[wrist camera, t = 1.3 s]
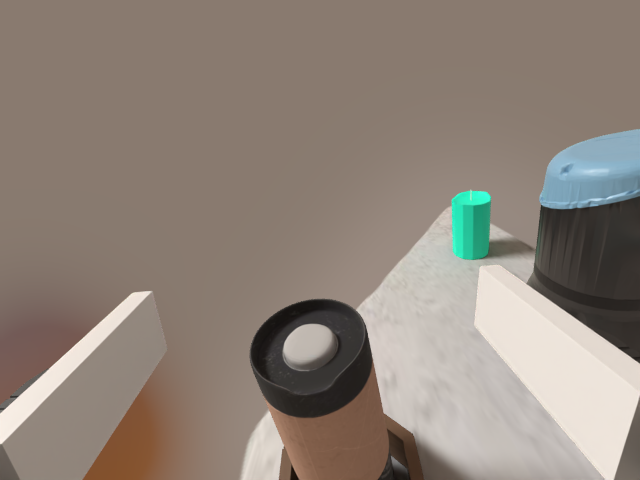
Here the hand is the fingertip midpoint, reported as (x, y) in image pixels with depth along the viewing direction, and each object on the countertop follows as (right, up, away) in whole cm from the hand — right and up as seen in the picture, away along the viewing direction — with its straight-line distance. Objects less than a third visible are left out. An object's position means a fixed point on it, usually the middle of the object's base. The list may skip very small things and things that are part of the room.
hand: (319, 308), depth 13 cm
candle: (+28, +1, +46) cm, 54 cm away
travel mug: (+3, -21, +16) cm, 27 cm away
